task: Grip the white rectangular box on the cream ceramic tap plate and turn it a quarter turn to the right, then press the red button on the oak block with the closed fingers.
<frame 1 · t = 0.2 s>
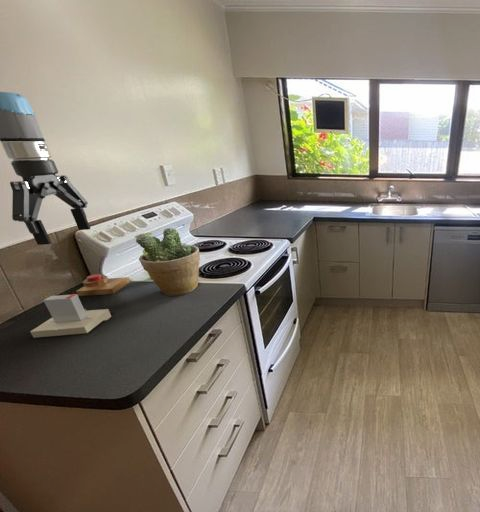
hand: (66, 236, 83), 29 cm above the countertop, tool pointing down, fingers open, 13 cm apart
soap dispenser: (159, 278, 123), on the countertop
tap plate: (75, 327, 91), on the countertop
potted plant: (181, 289, 114), on the countertop
white rectangular box: (65, 308, 88), point 7 cm above the countertop, hinge at 0.0°
button: (94, 278, 113), point 4 cm above the countertop, slide at 0.1 cm
button block: (105, 288, 114), on the countertop
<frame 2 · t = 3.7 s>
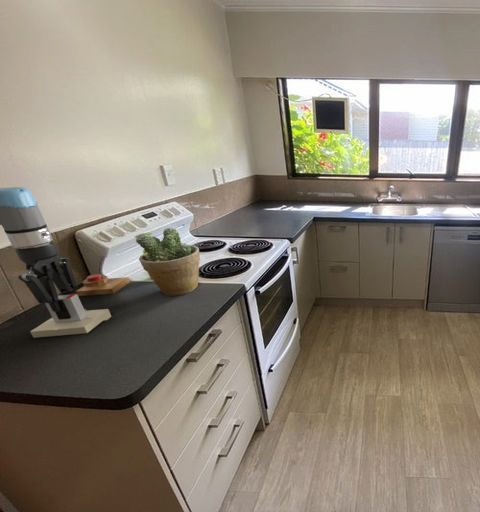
hand: (69, 315, 89), 5 cm above the countertop, tool pointing down, fingers closed on white rectangular box, 2 cm apart
white rectangular box: (65, 308, 88), point 7 cm above the countertop, hinge at -0.1°, touching gripper
everything else where it was.
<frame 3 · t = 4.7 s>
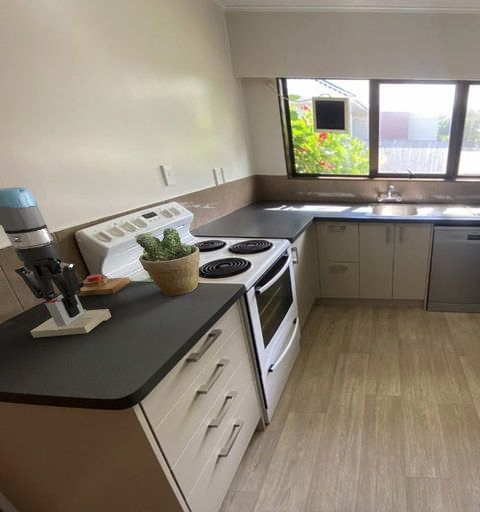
hand: (69, 315, 89), 4 cm above the countertop, tool pointing down, fingers closed on white rectangular box, 2 cm apart
white rectangular box: (65, 308, 88), point 7 cm above the countertop, hinge at -89.9°, touching gripper
everything else where it was.
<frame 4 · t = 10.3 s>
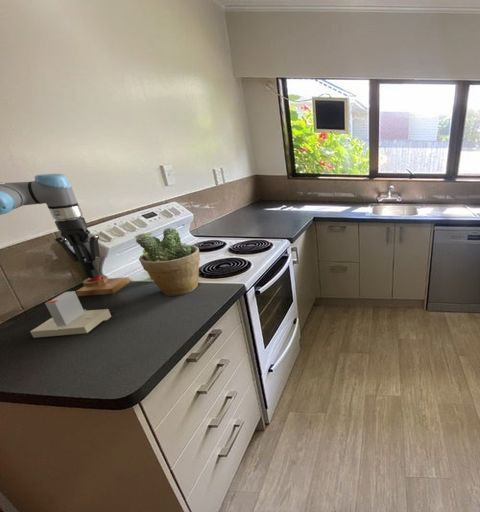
hand: (94, 276, 112), 5 cm above the countertop, tool pointing down, fingers closed
white rectangular box: (65, 308, 88), point 7 cm above the countertop, hinge at -90.0°
button: (95, 279, 113), point 4 cm above the countertop, slide at -0.5 cm, touching gripper
everything else where it was.
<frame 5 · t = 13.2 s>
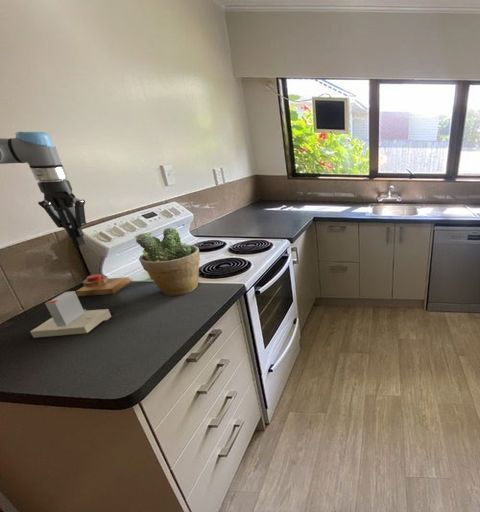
hand: (80, 244, 107), 18 cm above the countertop, tool pointing down, fingers closed
button: (94, 278, 113), point 4 cm above the countertop, slide at 0.1 cm
everything else where it was.
at the end: white rectangular box at -90° (first picture: +0°); button pushed in 1.0 cm at the most during the clip, back to where it started at the end; button slide at 0.1 cm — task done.
